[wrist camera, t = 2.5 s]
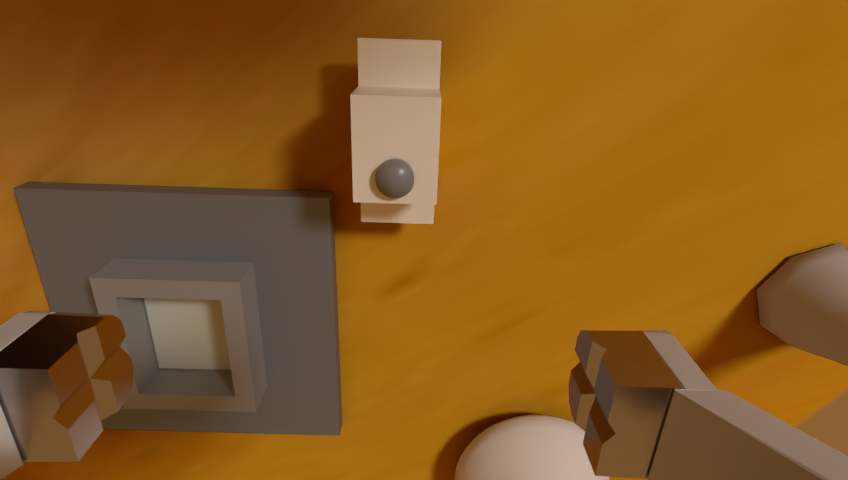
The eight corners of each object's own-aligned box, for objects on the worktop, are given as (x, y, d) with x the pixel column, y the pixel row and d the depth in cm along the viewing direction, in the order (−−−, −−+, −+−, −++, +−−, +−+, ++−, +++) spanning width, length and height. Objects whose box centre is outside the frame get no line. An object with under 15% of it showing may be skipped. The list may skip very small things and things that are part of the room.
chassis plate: (28, 181, 30) (-23, 202, 26) (332, 191, 30) (321, 213, 27) (97, 416, 37) (64, 456, 33) (342, 423, 37) (333, 463, 34)
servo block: (364, 36, 27) (347, 40, 21) (439, 38, 27) (444, 44, 21) (366, 203, 30) (352, 247, 24) (432, 205, 30) (434, 250, 24)
